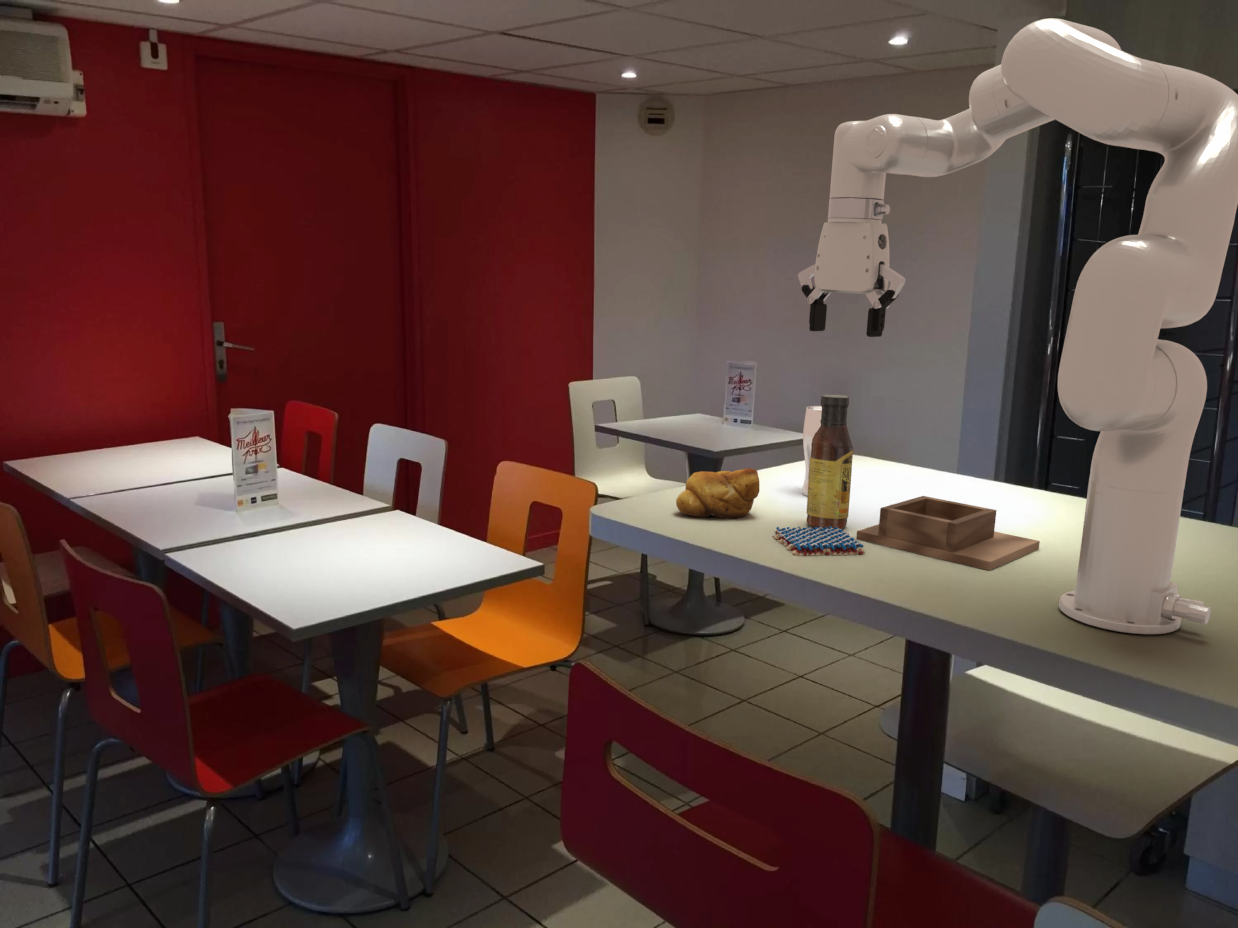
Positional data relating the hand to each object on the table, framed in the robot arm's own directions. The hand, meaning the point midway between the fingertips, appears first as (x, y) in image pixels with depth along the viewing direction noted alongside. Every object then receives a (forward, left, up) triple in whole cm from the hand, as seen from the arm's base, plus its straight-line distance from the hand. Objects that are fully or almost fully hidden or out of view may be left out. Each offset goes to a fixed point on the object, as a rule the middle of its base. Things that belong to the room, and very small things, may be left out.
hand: (844, 333), depth 147 cm
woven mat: (-5, +11, -30) cm, 32 cm away
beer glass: (+13, -18, -29) cm, 37 cm away
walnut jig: (-17, -5, -29) cm, 34 cm away
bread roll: (+16, +8, -29) cm, 34 cm away
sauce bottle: (0, 0, -29) cm, 29 cm away
